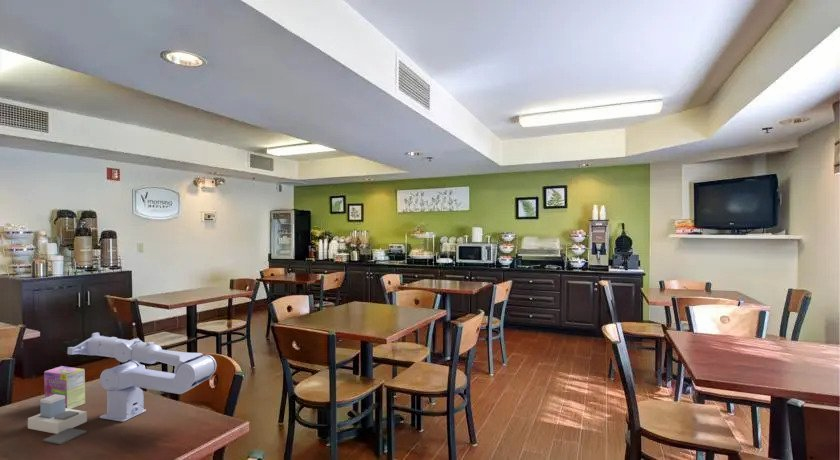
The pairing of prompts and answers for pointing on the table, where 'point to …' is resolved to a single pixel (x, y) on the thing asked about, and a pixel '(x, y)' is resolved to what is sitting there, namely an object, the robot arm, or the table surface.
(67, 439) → the mat
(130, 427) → the table surface
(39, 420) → the frame
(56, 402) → the plug
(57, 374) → the box
